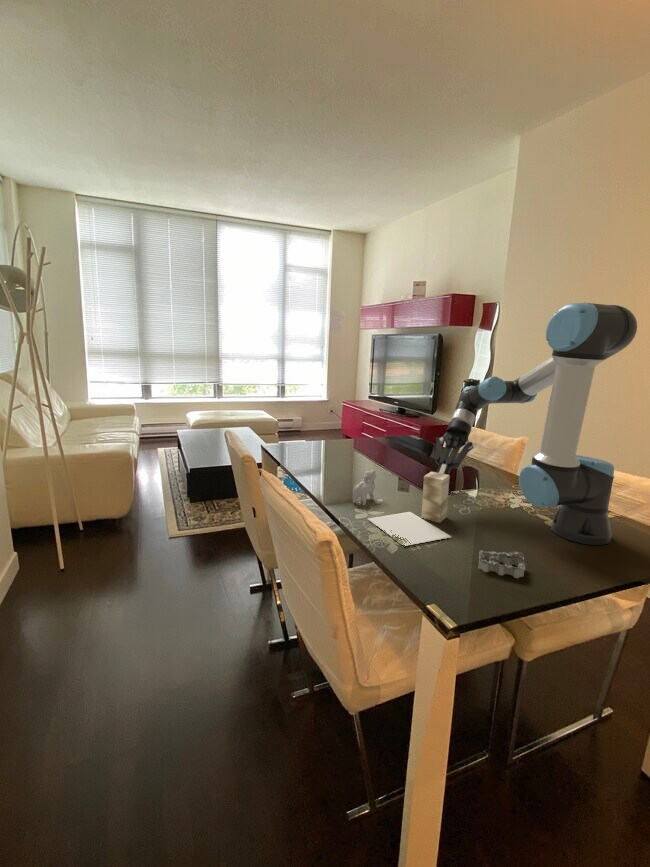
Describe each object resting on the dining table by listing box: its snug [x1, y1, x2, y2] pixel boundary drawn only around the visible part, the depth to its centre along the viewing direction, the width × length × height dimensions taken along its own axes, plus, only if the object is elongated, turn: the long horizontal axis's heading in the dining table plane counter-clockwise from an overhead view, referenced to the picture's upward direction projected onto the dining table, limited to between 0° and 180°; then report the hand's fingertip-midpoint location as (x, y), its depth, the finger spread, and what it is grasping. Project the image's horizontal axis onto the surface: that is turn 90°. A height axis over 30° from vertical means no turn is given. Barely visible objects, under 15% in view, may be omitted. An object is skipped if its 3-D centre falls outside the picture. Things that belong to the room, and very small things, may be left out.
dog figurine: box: [352, 468, 377, 506], centre depth 148 cm, size 5×13×11 cm, turn 151°
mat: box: [367, 511, 452, 546], centre depth 126 cm, size 20×16×1 cm
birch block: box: [420, 471, 451, 524], centre depth 134 cm, size 6×6×14 cm
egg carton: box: [478, 549, 526, 579], centre depth 104 cm, size 11×8×4 cm
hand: (439, 483), depth 137 cm, fingers closed
